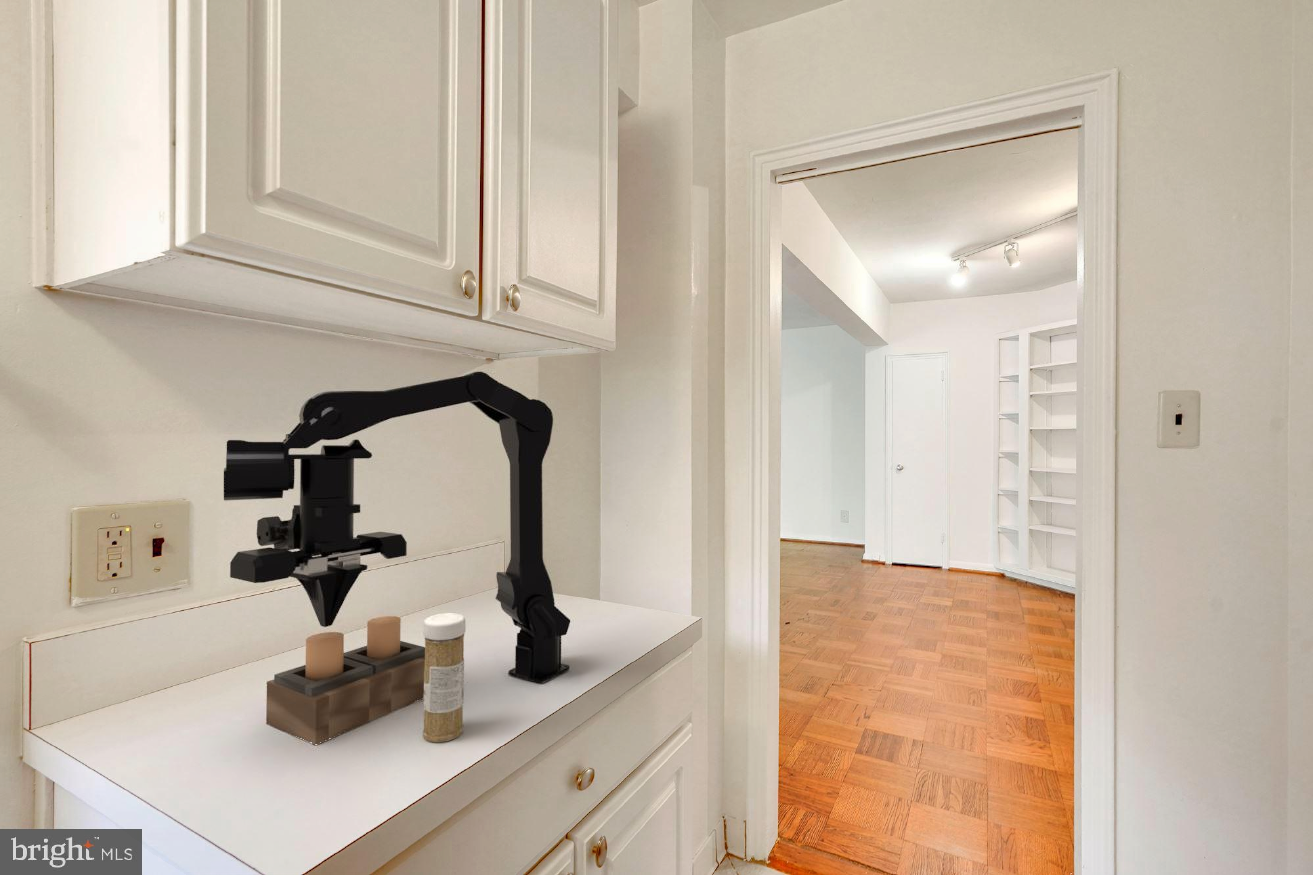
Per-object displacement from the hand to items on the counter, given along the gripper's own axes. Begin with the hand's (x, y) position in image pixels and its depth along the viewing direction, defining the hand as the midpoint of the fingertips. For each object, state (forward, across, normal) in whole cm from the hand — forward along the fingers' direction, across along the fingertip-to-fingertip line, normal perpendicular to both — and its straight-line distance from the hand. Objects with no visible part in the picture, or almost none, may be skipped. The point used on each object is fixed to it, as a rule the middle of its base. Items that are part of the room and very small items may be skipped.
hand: (326, 625), depth 73 cm
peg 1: (+7, 0, 0) cm, 7 cm away
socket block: (+11, -4, 0) cm, 12 cm away
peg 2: (+7, -8, 0) cm, 11 cm away
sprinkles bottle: (+12, -5, +15) cm, 20 cm away
